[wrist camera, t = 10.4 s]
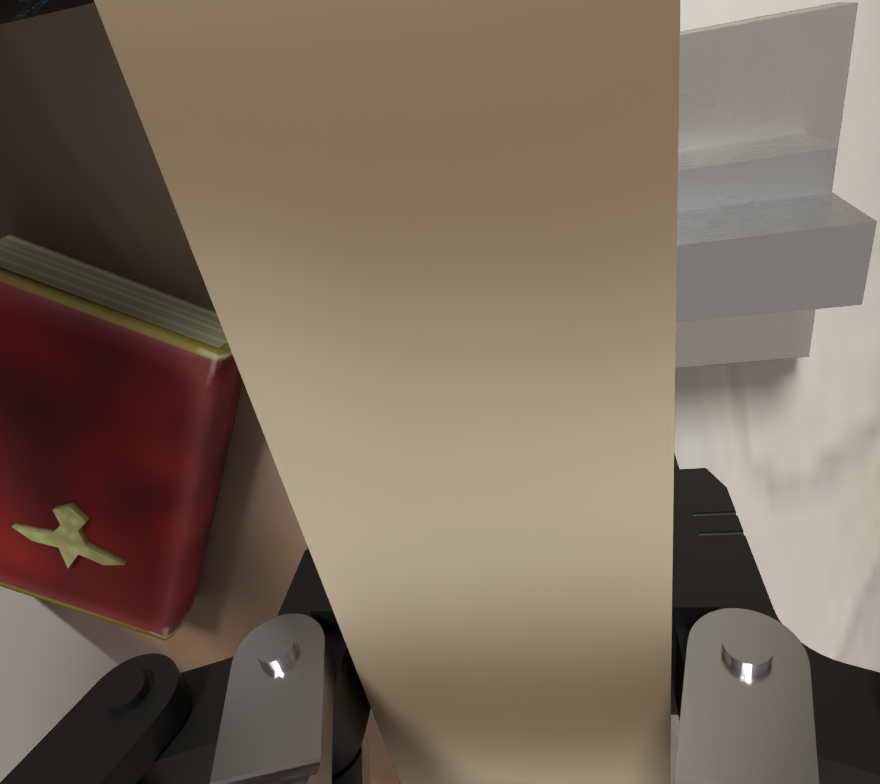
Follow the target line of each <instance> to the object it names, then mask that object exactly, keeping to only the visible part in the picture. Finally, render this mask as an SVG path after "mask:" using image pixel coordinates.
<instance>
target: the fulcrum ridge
mask: <svg viewBox="0 0 880 784" xmlns="http://www.w3.org/2000/svg"><path fill="white" fill-rule="evenodd" d="M857 6H858V3H854V2H837V3H831V4H826V5H821V6H815V7H810V8H805V9H799V10H794V11H788V12H783V13H778V14H772V15H767V16H762V17H756V18H751V19H745V20H740V21H735V22H729V23H724V24H719V25H713V26H708V27H703V28H697V29H692V30H686V31H681V32H680V56H679V130H678V204H677V278H676V352H675V368H680V367H692V366H704V365H716V364H727V363H739V362H751V361H762V360H774V359H786V358H798V357H809V352H810V345H811V337H812V330H813V323H814V316H815V309H821V308H831V307H841V306H851V305H861V304H862V301H863V295H864V290H865V284H866V279H867V273H868V267H869V262H870V256H871V251H872V245H873V240H874V234H875V228H876V223H877V221H876V220H874V219H873V218H871V217H869V216H868V215H866V214H865V213H863V212H862V211H860V210H859V209H857V208H856V207H854V206H852V205H851V204H849V203H848V202H846V201H845V200H843V199H842V198H840V197H839V196H837V195H836V194H834V193H832V187H833V179H834V172H835V165H836V158H837V151H838V143H839V136H840V129H841V121H842V114H843V107H844V100H845V92H846V85H847V78H848V71H849V64H850V56H851V49H852V42H853V35H854V28H855V20H856V13H857Z"/></svg>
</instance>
